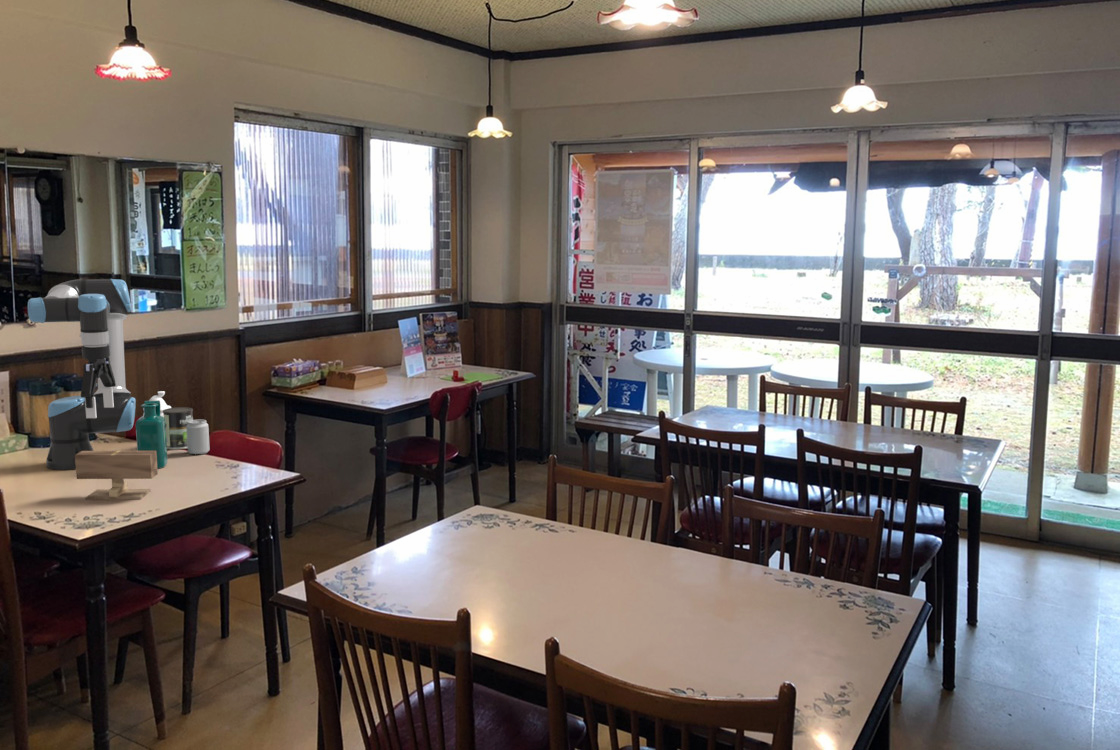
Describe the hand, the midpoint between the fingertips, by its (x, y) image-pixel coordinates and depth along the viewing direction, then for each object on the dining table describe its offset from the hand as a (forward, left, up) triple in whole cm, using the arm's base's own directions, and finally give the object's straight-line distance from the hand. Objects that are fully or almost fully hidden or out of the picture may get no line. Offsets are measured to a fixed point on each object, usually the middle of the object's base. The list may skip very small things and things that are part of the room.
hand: (100, 412), depth 275 cm
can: (-45, +15, -25) cm, 54 cm away
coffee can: (-55, +5, -25) cm, 61 cm away
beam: (+7, +7, -19) cm, 21 cm away
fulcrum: (+7, +7, -25) cm, 26 cm away
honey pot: (-70, -8, -25) cm, 75 cm away
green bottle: (-28, +5, -25) cm, 38 cm away
